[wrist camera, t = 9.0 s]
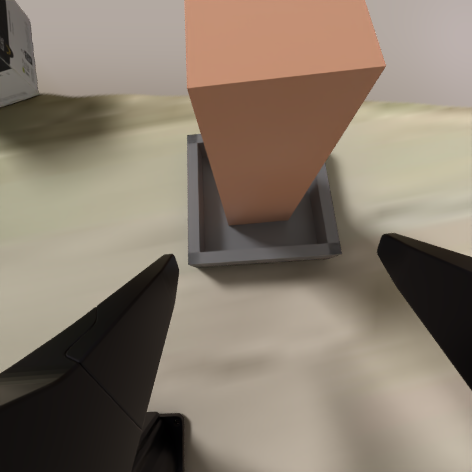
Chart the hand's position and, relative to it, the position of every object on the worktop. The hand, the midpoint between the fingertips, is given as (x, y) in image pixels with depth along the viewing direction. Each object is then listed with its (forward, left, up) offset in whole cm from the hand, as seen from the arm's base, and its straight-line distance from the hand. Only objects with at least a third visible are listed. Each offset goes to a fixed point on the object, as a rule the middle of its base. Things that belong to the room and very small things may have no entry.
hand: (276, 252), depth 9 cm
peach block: (+7, 0, -11) cm, 13 cm away
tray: (+7, 0, -12) cm, 14 cm away
